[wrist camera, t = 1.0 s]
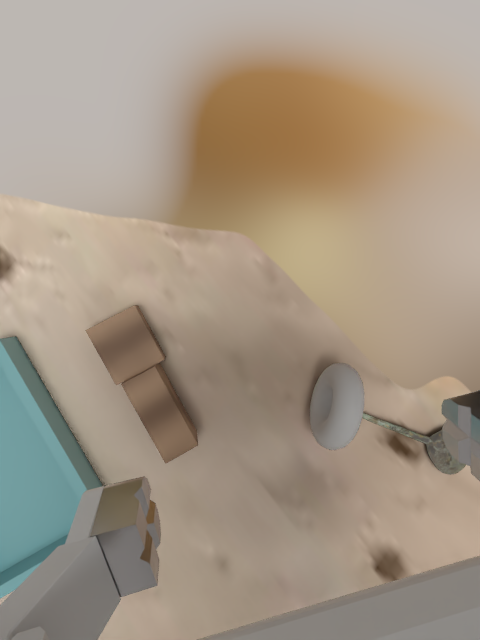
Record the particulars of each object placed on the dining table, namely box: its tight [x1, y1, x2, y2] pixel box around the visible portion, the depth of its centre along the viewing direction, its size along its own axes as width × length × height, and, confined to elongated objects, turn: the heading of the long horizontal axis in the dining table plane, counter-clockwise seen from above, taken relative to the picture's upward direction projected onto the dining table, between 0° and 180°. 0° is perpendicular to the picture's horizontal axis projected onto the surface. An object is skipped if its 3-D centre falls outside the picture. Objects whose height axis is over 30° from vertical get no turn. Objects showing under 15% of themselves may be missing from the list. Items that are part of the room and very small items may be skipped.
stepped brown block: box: [86, 305, 198, 463], centre depth 43 cm, size 17×6×5 cm, turn 28°
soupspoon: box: [362, 413, 466, 474], centre depth 50 cm, size 22×3×7 cm
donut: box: [310, 363, 364, 450], centre depth 44 cm, size 10×3×10 cm, turn 166°
